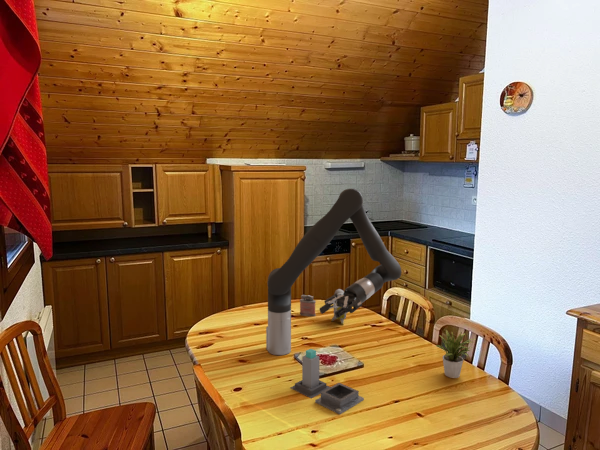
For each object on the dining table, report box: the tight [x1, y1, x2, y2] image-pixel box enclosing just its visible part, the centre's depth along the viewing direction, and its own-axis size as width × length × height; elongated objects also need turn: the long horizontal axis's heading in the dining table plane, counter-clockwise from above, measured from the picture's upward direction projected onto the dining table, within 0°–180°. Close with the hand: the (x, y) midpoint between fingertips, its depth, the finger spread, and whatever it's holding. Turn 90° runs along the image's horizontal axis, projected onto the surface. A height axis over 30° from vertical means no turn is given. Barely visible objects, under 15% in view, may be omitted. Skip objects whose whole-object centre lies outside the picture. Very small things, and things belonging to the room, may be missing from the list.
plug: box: [301, 348, 320, 389], centre depth 154 cm, size 4×4×13 cm
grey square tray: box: [289, 379, 331, 400], centre depth 155 cm, size 10×10×2 cm
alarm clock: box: [330, 288, 347, 326], centre depth 219 cm, size 12×7×15 cm, turn 179°
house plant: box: [435, 329, 475, 379], centre depth 163 cm, size 14×14×16 cm
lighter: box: [299, 294, 317, 317], centre depth 229 cm, size 8×3×10 cm, turn 71°
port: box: [314, 382, 365, 415], centre depth 146 cm, size 10×12×4 cm
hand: (328, 313), depth 162 cm, fingers open, 8 cm apart
